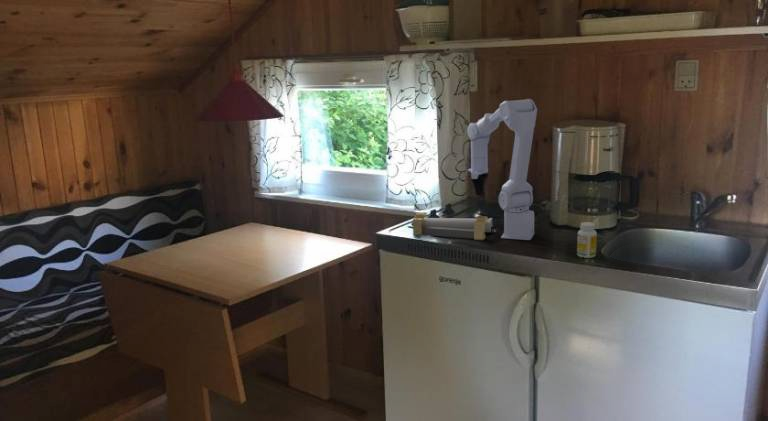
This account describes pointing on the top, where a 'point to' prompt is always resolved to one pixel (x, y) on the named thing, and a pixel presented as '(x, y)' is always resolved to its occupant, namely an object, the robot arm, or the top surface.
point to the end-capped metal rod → (478, 226)
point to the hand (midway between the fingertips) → (479, 194)
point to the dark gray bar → (448, 232)
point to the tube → (456, 223)
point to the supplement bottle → (587, 240)
